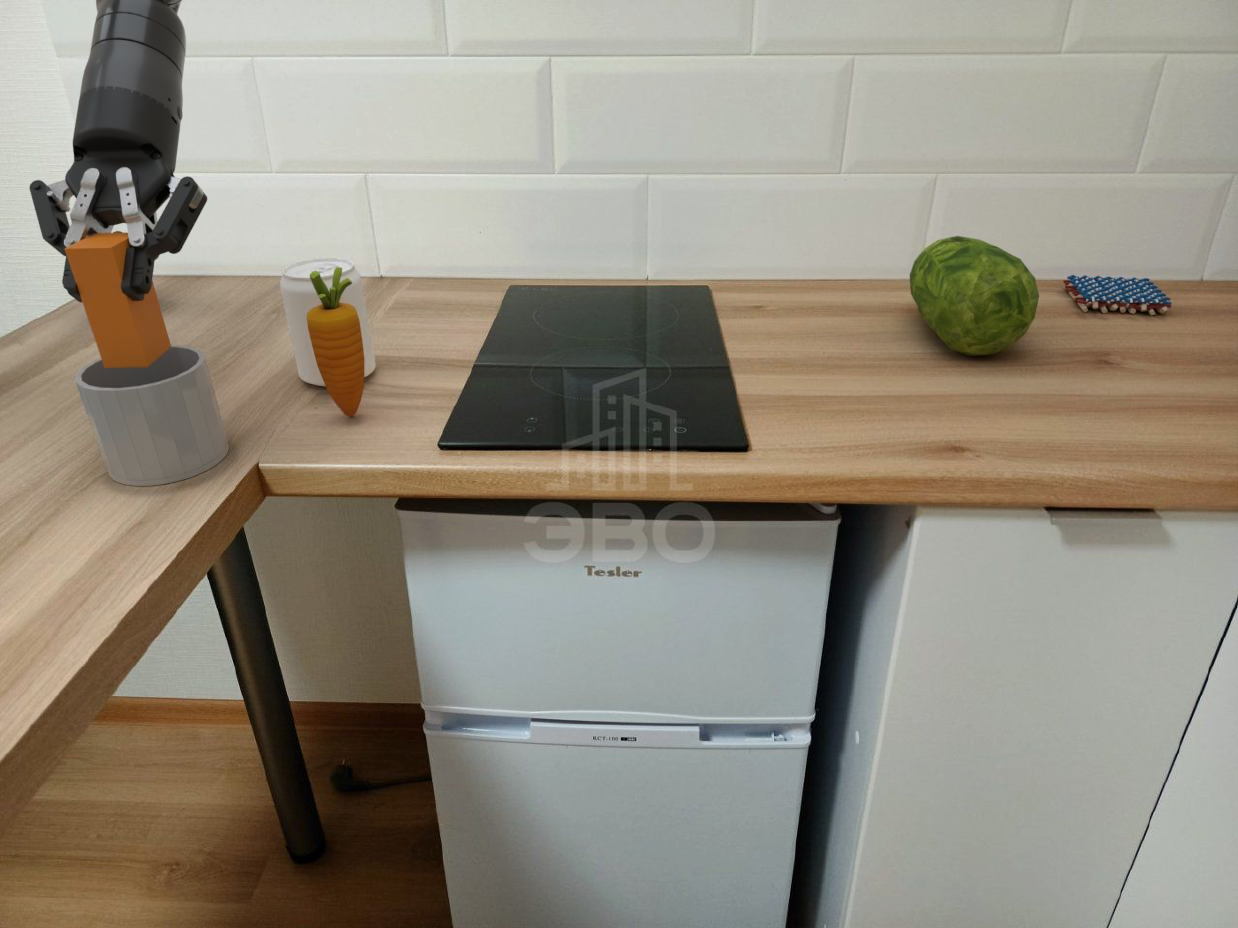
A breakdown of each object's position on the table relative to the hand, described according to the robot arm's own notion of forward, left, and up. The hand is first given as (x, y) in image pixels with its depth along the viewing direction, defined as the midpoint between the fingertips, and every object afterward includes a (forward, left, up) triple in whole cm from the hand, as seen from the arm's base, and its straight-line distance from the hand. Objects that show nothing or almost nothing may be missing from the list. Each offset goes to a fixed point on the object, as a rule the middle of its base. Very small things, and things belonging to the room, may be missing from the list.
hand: (105, 296), depth 68 cm
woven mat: (+80, +79, -16) cm, 114 cm away
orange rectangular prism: (-1, +2, -6) cm, 6 cm away
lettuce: (+62, +60, -16) cm, 88 cm away
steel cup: (-1, +2, -16) cm, 16 cm away
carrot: (+9, +15, -16) cm, 24 cm away
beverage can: (+1, +23, -16) cm, 28 cm away
